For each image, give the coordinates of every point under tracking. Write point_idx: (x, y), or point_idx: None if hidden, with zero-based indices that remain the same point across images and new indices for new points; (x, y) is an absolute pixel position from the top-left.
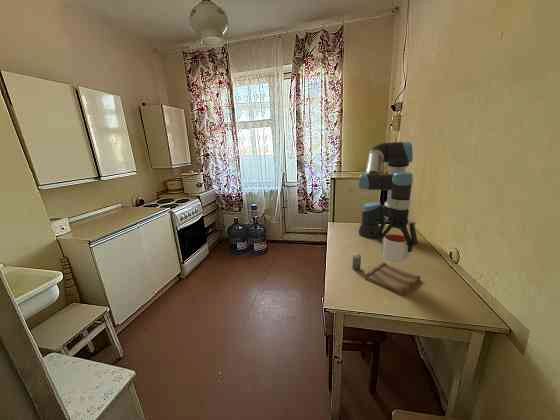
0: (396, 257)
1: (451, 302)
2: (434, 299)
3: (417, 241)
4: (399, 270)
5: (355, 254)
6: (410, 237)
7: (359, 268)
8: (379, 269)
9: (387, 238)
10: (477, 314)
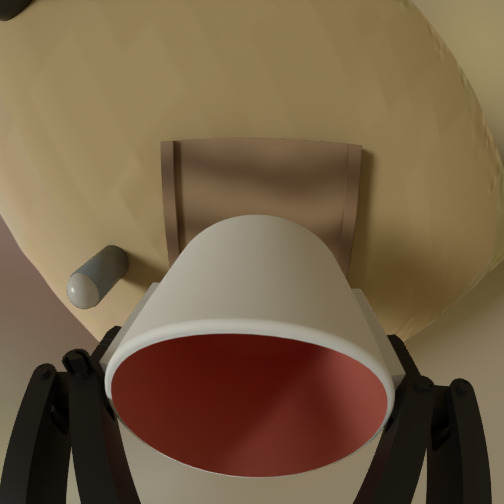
0: (298, 368)
1: (455, 228)
2: (419, 250)
3: (474, 401)
4: (259, 151)
5: (77, 307)
6: (424, 444)
7: (124, 266)
8: (183, 219)
9: (130, 357)
10: (492, 238)
